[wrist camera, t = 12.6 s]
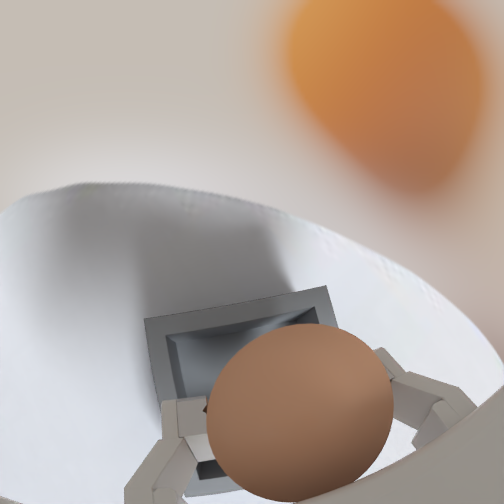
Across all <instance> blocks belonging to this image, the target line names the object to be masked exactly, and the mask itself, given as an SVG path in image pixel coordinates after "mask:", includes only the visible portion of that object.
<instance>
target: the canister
mask: <svg viewBox="0 0 504 504" xmlns="http://www.w3.org/2000/svg"><path fill="white" fill-rule="evenodd" d="M393 411H394V398H393V391H392V386H391V383H390V379H389V376H388V374H387V372H386V369H385V367H384V365H383V364H382V362H381V361H380V359H379V358H378V356H377V355H376V354H375V353H374V351H373V350H372V349H371V348H370V347H369V346H368V345H366V344H365V343H364V342H363V341H362V340H360V339H359V338H357V337H356V336H354V335H352V334H350V333H348V332H346V331H344V330H341V329H339V328H336V327H332V326H328V325H323V324H312V323H310V324H296V325H290V326H285V327H281V328H278V329H275V330H272V331H270V332H268V333H265V334H263V335H261V336H259V337H258V338H256V339H254V340H253V341H251V342H250V343H248V344H247V345H246V346H244V347H243V348H242V349H241V350H239V351H238V352H237V353H236V354H235V355H234V356H233V357H232V358H231V359H230V361H229V362H228V363H227V364H226V365H225V367H224V368H223V369H222V371H221V372H220V374H219V376H218V378H217V380H216V382H215V384H214V387H213V389H212V391H211V394H210V398H209V402H208V406H207V415H206V427H207V435H208V440H209V444H210V447H211V450H212V453H213V455H214V457H215V459H216V460H217V462H218V464H219V465H220V467H221V468H222V469H223V471H224V472H225V473H226V474H227V475H228V476H229V477H230V478H231V479H232V480H233V481H234V482H235V483H236V484H238V485H239V486H240V487H242V488H243V489H245V490H247V491H248V492H250V493H252V494H254V495H257V496H259V497H262V498H265V499H269V500H274V501H279V502H300V501H303V500H306V499H309V498H312V497H315V496H318V495H321V494H324V493H327V492H330V491H332V490H335V489H338V488H340V487H343V486H345V485H348V484H350V483H352V482H354V481H355V480H357V479H358V478H359V477H360V476H361V475H362V474H363V473H364V472H366V471H367V470H368V468H369V467H370V466H371V465H372V464H373V462H374V461H375V460H376V458H377V457H378V455H379V454H380V452H381V451H382V449H383V447H384V445H385V443H386V440H387V438H388V435H389V432H390V429H391V425H392V420H393Z"/></svg>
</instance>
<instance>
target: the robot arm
mask: <svg viewBox="0 0 504 504" xmlns="http://www.w3.org/2000/svg"><path fill="white" fill-rule="evenodd" d="M373 351H374V353H375V354H376V355H377V356H378V358H379V359H380V361H381V362H382V364H383V365H384V367H385V369H386V372H387V374H388V376H389V379H390V383H391V386H392V391H393V398H394V411H393V418H395V419H397V420H399V421H400V422H402V423H404V424H406V425H408V426H410V427H412V428H414V429H416V430H418V431H417V433H416V435H415V436H414V438H413V440H412V444H413V446H414V447H415V448H416V451H414V452H412V453H411V454H409V455H407V456H405V457H404V458H402V459H400V460H398V461H396V462H395V463H393V464H391V465H389V466H387V467H385V468H383V469H381V470H379V471H377V472H375V473H373V474H370V475H368V476H366V477H364V478H362V479H359V480H357V481H355V482H352V483H350V484H348V485H345V486H343V487H340V488H338V489H335V490H332V491H330V492H327V493H324V494H321V495H318V496H315V497H312V498H309V499H306V500H303V501H300V502H296V503H293V504H504V385H503V386H502V387H501V388H499V389H498V390H497V391H496V392H495V393H494V394H493V395H492V396H491V397H489V398H488V399H487V400H486V401H485V402H484V403H482V404H481V405H480V406H479V407H477V406H476V405H475V404H474V403H473V402H472V401H471V400H470V399H469V398H468V397H467V395H466V394H465V393H464V392H463V391H462V390H461V389H460V388H459V387H456V386H453V385H449V384H446V383H443V382H440V381H437V380H434V379H431V378H428V377H425V376H422V375H419V374H416V373H413V372H410V371H409V372H407V373H406V372H405V371H404V369H403V368H402V367H401V366H400V365H399V364H398V363H397V362H396V361H395V360H394V358H393V357H392V356H391V355H390V354H389V353H388V352H387V351H386V350H385V349H384V348H382V347H380V348H378V349H375V350H373ZM207 406H208V400H207V397H206V395H205V396H198V397H190V398H182V399H174V400H164V401H162V404H161V417H162V440H158V441H157V442H156V444H155V445H154V447H153V448H152V450H151V451H150V452H149V454H148V455H147V457H146V458H145V459H144V461H143V462H142V464H141V465H140V466H139V468H138V469H137V471H136V472H135V473H134V475H133V476H132V478H131V479H130V480H129V482H128V483H127V485H126V486H125V487H124V504H187V503H186V502H185V501H184V500H183V499H182V495H183V493H184V491H185V489H186V487H187V485H188V483H189V481H190V479H191V477H192V475H193V473H194V471H195V469H196V466H197V464H198V463H197V462H202V461H208V460H214V459H215V457H214V455H213V453H212V450H211V447H210V444H209V440H208V435H207V427H206V415H207ZM0 504H22V503H19V502H16V501H13V500H10V499H7V498H5V497H2V496H0Z"/></svg>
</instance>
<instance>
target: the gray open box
mask: <svg viewBox="0 0 504 504" xmlns="http://www.w3.org/2000/svg"><path fill="white" fill-rule="evenodd" d="M144 323H145V330H146V337H147V344H148V350H149V356H150V362H151V367H152V373H153V378H154V383H155V388H156V393H157V397H158V402H159V406H160V411H161V404H162V401H164V400H174V399H182V398H190V397H198V396H205V395H206V397H207V400H208V402H209V398H210V394H211V391H212V389H213V387H214V384H215V382H216V380H217V378H218V376H219V374H220V372H221V371H222V369H223V368H224V367H225V365H226V364H227V363H228V362H229V361H230V359H231V358H232V357H233V356H234V355H235V354H236V353H237V352H238V351H239V350H241V349H242V348H243V347H244V346H246V345H247V344H248V343H250V342H251V341H253V340H254V339H256V338H258V337H259V336H261V335H263V334H265V333H268V332H270V331H272V330H275V329H278V328H281V327H285V326H290V325H296V324H310V323H312V324H323V325H328V326H332V327H336V328H338V325H337V321H336V318H335V314H334V311H333V307H332V304H331V300H330V297H329V293H328V290H327V286H326V285H325V286H321V287H316V288H312V289H307V290H303V291H298V292H293V293H288V294H283V295H278V296H274V297H268V298H263V299H258V300H253V301H248V302H242V303H237V304H232V305H226V306H220V307H215V308H209V309H203V310H197V311H191V312H185V313H179V314H172V315H166V316H159V317H153V318H146V319H144ZM197 463H198V464H197V466H196V469H195V471H194V473H193V475H192V477H191V479H190V481H189V483H188V485H187V487H186V489H185V491H184V495H185V497H195V496H204V495H212V494H219V493H225V492H231V491H237V490H242V489H243V488H242V487H240V486H239V485H238V484H236V483H235V482H234V481H233V480H232V479H231V478H230V477H229V476H228V475H227V474H226V473H225V472H224V471H223V469H222V468H221V467H220V465H219V464H218V462H217V460H216V459H214V460H208V461H202V462H197Z"/></svg>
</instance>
